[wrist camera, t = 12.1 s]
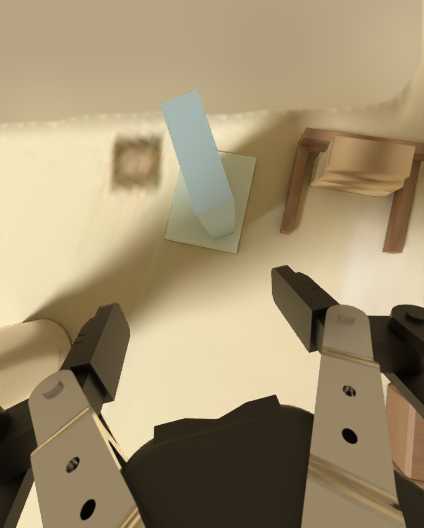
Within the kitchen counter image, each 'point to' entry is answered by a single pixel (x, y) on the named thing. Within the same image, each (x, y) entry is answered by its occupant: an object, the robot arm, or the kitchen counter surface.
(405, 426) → the wooden block set
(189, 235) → the felt mat
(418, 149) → the walnut rack
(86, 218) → the kitchen counter surface
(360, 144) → the offcut stack
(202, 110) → the pale blue rectangular block
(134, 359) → the kitchen counter surface
